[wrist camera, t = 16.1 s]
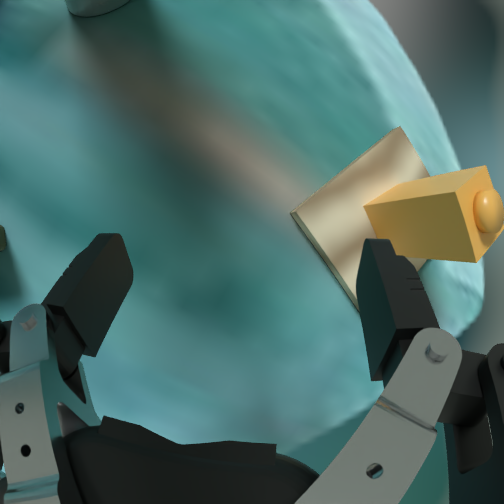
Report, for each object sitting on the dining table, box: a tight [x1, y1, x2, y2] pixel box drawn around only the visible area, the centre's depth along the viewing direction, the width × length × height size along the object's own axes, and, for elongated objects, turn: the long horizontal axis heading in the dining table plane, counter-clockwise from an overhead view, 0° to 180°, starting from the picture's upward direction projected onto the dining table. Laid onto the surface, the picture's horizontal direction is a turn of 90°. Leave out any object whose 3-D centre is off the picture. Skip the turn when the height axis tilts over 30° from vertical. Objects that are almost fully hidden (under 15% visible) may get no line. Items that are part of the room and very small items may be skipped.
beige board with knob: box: [290, 126, 430, 312], centre depth 28 cm, size 14×17×6 cm
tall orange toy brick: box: [363, 165, 504, 263], centre depth 23 cm, size 6×6×13 cm
